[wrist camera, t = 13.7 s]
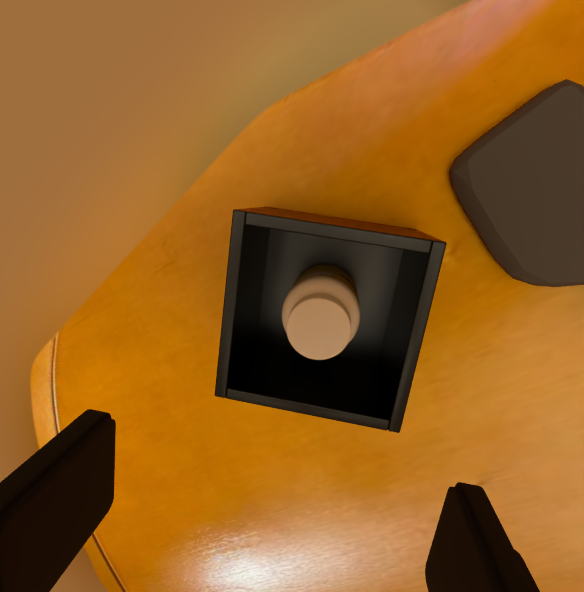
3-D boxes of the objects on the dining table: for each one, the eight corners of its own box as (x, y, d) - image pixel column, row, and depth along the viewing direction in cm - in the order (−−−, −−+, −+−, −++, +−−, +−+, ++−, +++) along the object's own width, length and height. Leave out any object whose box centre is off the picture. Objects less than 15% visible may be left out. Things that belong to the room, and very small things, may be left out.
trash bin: (248, 344, 36) (214, 396, 26) (265, 206, 32) (232, 209, 23) (384, 369, 35) (399, 433, 25) (416, 229, 31) (447, 242, 22)
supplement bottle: (361, 319, 33) (367, 367, 23) (299, 326, 34) (281, 376, 24) (353, 257, 32) (356, 281, 22) (288, 266, 33) (265, 293, 23)
